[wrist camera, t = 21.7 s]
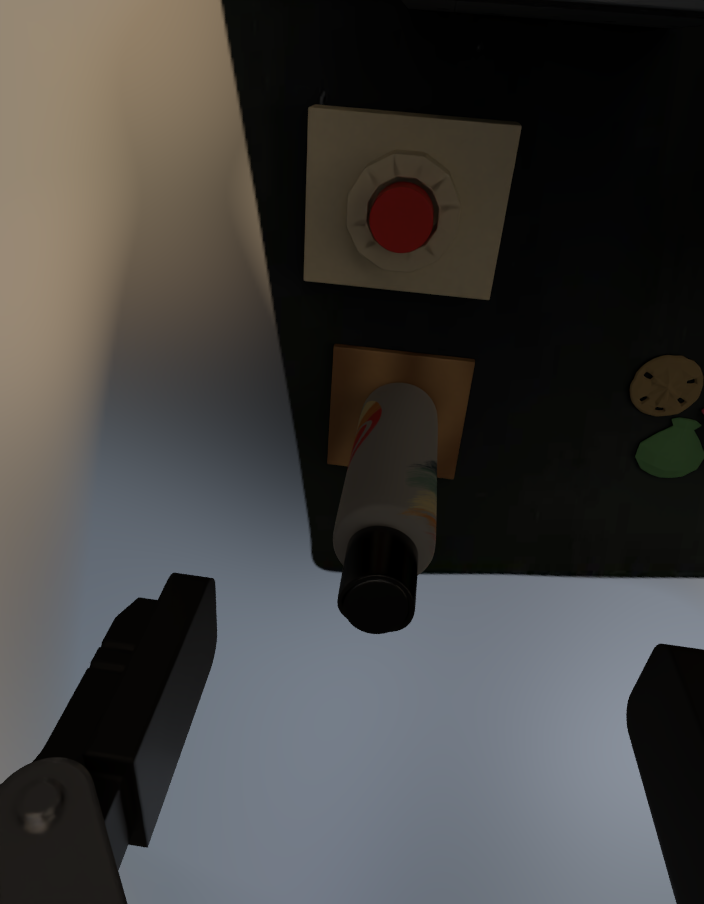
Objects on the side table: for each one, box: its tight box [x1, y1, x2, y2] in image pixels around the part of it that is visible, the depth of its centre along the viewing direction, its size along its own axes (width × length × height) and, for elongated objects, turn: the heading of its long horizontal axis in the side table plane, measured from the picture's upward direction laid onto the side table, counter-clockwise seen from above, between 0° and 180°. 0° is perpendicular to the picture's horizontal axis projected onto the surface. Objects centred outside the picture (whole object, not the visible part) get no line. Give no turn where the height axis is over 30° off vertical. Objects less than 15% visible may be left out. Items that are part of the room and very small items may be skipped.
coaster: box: [327, 344, 475, 479], centre depth 48 cm, size 10×10×1 cm
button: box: [369, 182, 434, 253], centre depth 37 cm, size 4×4×2 cm
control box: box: [304, 104, 522, 300], centre depth 39 cm, size 12×10×4 cm
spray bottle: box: [333, 383, 438, 634], centre depth 40 cm, size 6×6×20 cm
